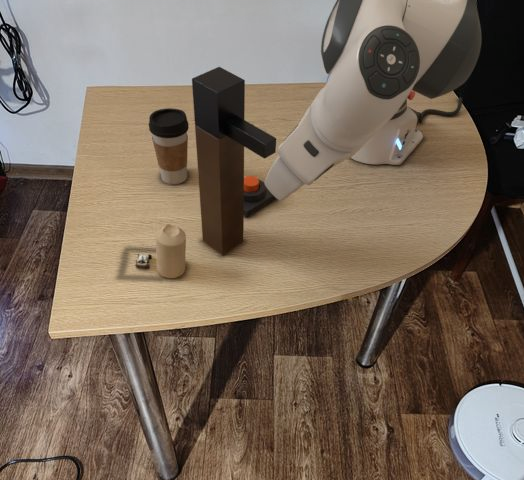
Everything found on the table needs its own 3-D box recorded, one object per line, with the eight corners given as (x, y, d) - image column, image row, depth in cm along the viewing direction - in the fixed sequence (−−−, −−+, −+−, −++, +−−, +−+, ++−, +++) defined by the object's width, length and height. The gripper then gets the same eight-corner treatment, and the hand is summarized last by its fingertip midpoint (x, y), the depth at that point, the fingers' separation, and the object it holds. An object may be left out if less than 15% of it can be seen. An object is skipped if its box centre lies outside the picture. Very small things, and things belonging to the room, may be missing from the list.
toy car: (151, 256, 111) (150, 249, 110) (148, 271, 109) (147, 263, 107) (138, 256, 111) (137, 248, 110) (135, 270, 109) (134, 263, 107)
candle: (161, 281, 107) (160, 242, 99) (153, 261, 110) (151, 222, 102) (188, 275, 109) (190, 236, 101) (179, 256, 112) (180, 217, 104)
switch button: (250, 180, 123) (250, 173, 121) (262, 187, 121) (262, 181, 120) (239, 187, 121) (239, 180, 120) (250, 194, 120) (250, 188, 118)
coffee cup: (186, 190, 125) (181, 129, 113) (150, 184, 126) (141, 123, 114) (196, 168, 130) (192, 108, 118) (162, 163, 131) (154, 102, 119)
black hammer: (220, 112, 97) (219, 66, 90) (282, 148, 91) (286, 101, 84) (194, 125, 94) (191, 78, 88) (257, 163, 88) (258, 116, 82)
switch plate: (253, 182, 128) (253, 169, 125) (278, 198, 124) (279, 185, 122) (221, 200, 123) (221, 187, 120) (247, 217, 120) (247, 204, 117)
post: (223, 228, 118) (220, 112, 97) (243, 242, 115) (244, 126, 94) (202, 241, 115) (194, 125, 94) (222, 255, 112) (218, 139, 92)
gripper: (372, 59, 75) (336, 106, 89) (269, 154, 71) (248, 189, 85) (403, 95, 76) (362, 136, 89) (303, 190, 72) (276, 219, 86)
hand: (306, 162), depth 87 cm, fingers open, 8 cm apart
